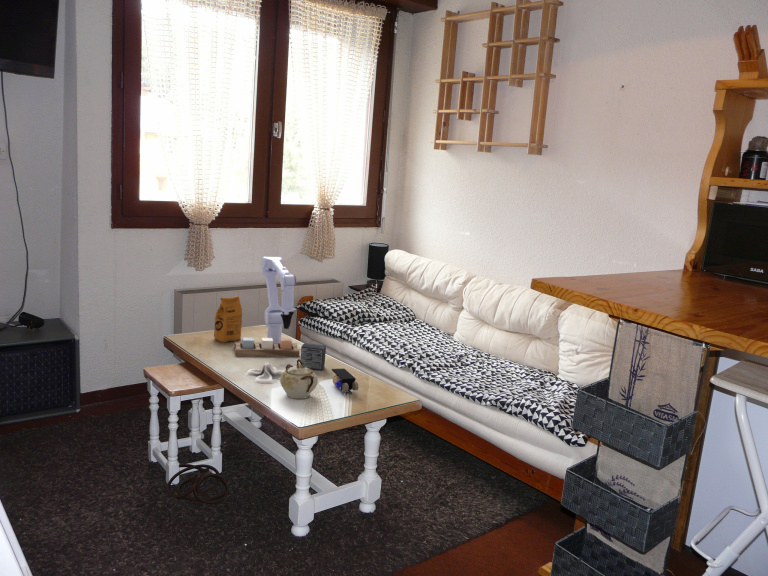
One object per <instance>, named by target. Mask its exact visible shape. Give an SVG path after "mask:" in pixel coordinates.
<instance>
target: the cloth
mask: <svg viewBox="0 0 768 576" xmlns="http://www.w3.org/2000/svg"><path fill="white" fill-rule="evenodd" d="M284 371H285V370H280V369H279V370H278V369H277V367H274V366H272V365H271V364H270V362H265V363H264V364H263V366H262V368H261V369H259V368H251V369H248V370H247V371H246V372H245V375H244V376H247V377H249V376H254V377H255V378H254V381H253V383H255V384H275V383H276V381H275V380H273V378H274V379H275V378H276V379H277V380H278V381H280V377H281V375H282V373H283V372H284Z"/></svg>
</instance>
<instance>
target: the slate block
mask: <svg viewBox="0 0 768 576" xmlns="http://www.w3.org/2000/svg"><path fill="white" fill-rule="evenodd" d="M254 343H255V339H254V337H248V336H247V337H244V336H243V337H242V347H243V348H250V349H253V347H254Z"/></svg>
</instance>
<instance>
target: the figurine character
mask: <svg viewBox="0 0 768 576" xmlns="http://www.w3.org/2000/svg"><path fill="white" fill-rule="evenodd" d="M331 372H333V373H334V374H335V375H334V376H333V378H332V383H333V385H334V386H336V388H338V389H339V390H340V391H342V393H343V394H344V395H345V396H347V393H350V395H353V393H354V392H353V391H358V390H359V383H358V382H357V381H356V380H357V379H356V377H355V376H354V375H352V374H351V373H350V372H349V371H348V370H347V369H345V368H331Z"/></svg>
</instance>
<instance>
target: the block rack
mask: <svg viewBox="0 0 768 576" xmlns="http://www.w3.org/2000/svg"><path fill="white" fill-rule="evenodd" d="M233 349H234V356H235V357H241V356H243V357H245V356H247V357H289V356H290V357H296V358H297V357H300V354H301V350H300V349H299V348H298V344H297V343H294V342H292V348H291V349H281V348H280V343H273V349H262V347H261V342H254V347H253V349H250V348H243V347H242V342H240V341H238V342H237V341H234V348H233Z"/></svg>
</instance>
